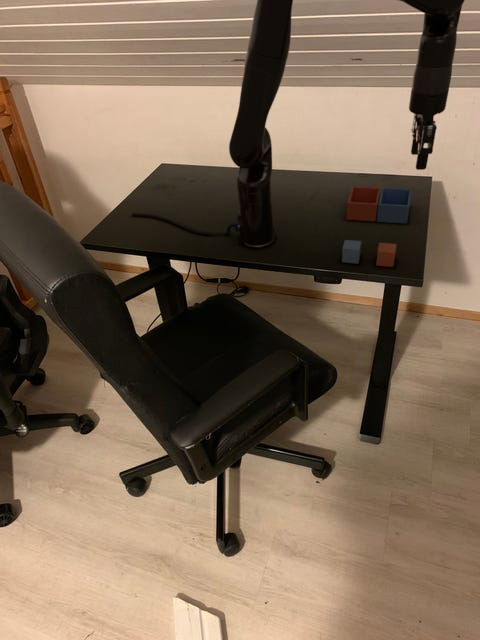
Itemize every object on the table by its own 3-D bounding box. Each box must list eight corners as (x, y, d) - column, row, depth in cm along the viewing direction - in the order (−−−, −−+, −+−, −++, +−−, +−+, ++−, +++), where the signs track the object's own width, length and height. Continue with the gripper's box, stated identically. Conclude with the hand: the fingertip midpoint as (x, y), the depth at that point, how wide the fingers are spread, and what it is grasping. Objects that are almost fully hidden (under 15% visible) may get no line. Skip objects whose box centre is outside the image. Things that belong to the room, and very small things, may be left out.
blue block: (341, 262, 126) (342, 248, 123) (344, 253, 129) (344, 239, 126) (358, 263, 125) (359, 249, 122) (360, 254, 128) (361, 241, 125)
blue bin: (376, 221, 140) (378, 204, 136) (380, 204, 148) (381, 187, 144) (406, 223, 137) (409, 206, 134) (409, 205, 145) (411, 189, 142)
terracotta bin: (346, 219, 143) (347, 202, 139) (351, 202, 150) (352, 186, 147) (375, 221, 140) (377, 204, 136) (379, 204, 148) (380, 187, 144)
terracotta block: (376, 265, 123) (377, 251, 120) (377, 256, 126) (379, 242, 123) (393, 267, 122) (395, 253, 119) (394, 257, 125) (396, 243, 122)
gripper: (407, 78, 105) (398, 150, 115) (416, 98, 94) (405, 174, 105) (442, 76, 103) (429, 149, 114) (455, 96, 93) (440, 174, 104)
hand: (418, 161), depth 109 cm, fingers open, 8 cm apart
